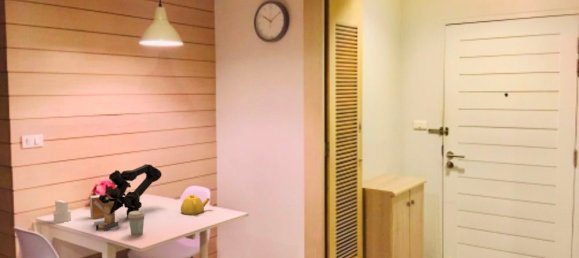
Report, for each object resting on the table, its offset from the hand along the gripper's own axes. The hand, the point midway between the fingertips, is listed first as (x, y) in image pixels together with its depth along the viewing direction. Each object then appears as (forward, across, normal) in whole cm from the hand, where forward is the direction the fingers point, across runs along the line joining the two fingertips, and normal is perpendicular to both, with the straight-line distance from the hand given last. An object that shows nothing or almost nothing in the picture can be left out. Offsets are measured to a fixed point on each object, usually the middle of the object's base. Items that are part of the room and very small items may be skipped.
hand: (107, 213), depth 260 cm
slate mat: (+2, -10, +9) cm, 14 cm away
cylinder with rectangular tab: (+5, -34, +7) cm, 36 cm away
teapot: (-26, +28, +38) cm, 54 cm away
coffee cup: (+9, +23, +2) cm, 25 cm away
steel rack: (+6, 0, +5) cm, 8 cm away
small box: (-5, -20, +16) cm, 27 cm away
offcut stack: (+8, 0, +3) cm, 9 cm away
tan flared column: (+4, 0, +6) cm, 7 cm away
